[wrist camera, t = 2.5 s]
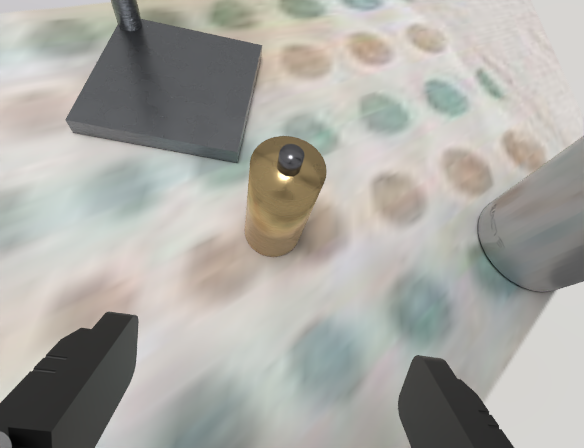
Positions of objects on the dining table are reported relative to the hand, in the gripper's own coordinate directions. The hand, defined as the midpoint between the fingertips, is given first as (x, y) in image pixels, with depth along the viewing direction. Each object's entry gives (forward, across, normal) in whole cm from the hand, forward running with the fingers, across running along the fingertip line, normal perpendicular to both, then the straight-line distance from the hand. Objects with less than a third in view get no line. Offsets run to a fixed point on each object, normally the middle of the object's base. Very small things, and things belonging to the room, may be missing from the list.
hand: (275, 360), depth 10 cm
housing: (+18, 0, +3) cm, 18 cm away
